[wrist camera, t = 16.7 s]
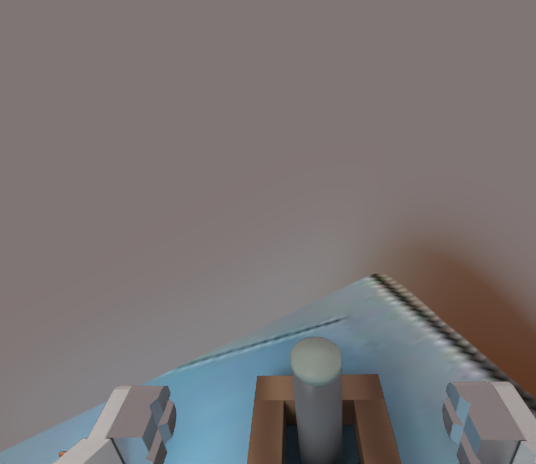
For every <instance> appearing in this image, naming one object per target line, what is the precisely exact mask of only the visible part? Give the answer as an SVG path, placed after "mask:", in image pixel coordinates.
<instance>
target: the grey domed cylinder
mask: <svg viewBox="0 0 536 464" xmlns="http://www.w3.org/2000/svg"><path fill="white" fill-rule="evenodd" d="M290 359H291V369H292V379H293V389H294V399H295V409H296V419H297V429H298V439H299V449H300V459H301V464H342V354H341V351H340V349H339V347H338V346H337V345H336V344H335V343H333V342H332V341H330V340H328V339H326V338H322V337H309V338H305V339H303V340H301V341H299V342H298V343H296V344H295V345H294V347H293V348H292V350H291V354H290Z"/></svg>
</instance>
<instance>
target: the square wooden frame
mask: <svg viewBox="0 0 536 464" xmlns="http://www.w3.org/2000/svg"><path fill="white" fill-rule="evenodd" d="M287 425H297V419H296V409H295V399H294V389H293V379H292V376H257V383H256V391H255V400H254V408H253V417H252V426H251V434H250V443H249V451H248V460H247V464H286V428H287ZM342 425H353V428H354V434H355V440H356V446H357V453H358V459H359V464H401V460H400V457H399V453H398V449H397V445H396V441H395V438H394V434H393V430H392V426H391V422H390V419H389V415H388V411H387V407H386V403H385V399H384V396H383V392H382V388H381V384H380V380H379V377H378V374H367V375H342Z"/></svg>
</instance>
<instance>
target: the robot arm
mask: <svg viewBox="0 0 536 464" xmlns="http://www.w3.org/2000/svg"><path fill="white" fill-rule="evenodd" d="M446 392H447V394H448V397H449V398H448V399H447V400H445V401H444V404H443V419H444V423H445V427H446V430H447V433H448V435H449V438H450V439H451V440H452V441H453V442H455V443H456V444H457V445H458V446H459V448H458V452H457V457H458V460H459V462H460V464H536V419H535V417H534V416H533V414H532V413H531V411H530V410H529V408H528V407H527V405H526V404H525V402H524V401H523V399H522V398H521V396H520V395H519V393H518V392H517V391H516V389H515V388H514V386H513V385H512V384H511V383H509V382H486V381H482V382H450V383H449V384H448V385H447V389H446ZM170 394H171V393H170V391H169V388H168V386H134V385H132V386H130V385H129V386H117V387H116V388H115V389H114V390H113V392H112V394H111V396H110V398H109V399H108V401H107V403H106V405H105V407H104V409H103V410H102V412H101V414H100V416H99V418H98V420H97V422H96V423H95V425H94V427H93V429H92V431H91V433H90V435H89V436H88V438H85V439H81V440H80V441H79V442H78V443H77V444H76V445H74V446H73V447H72V448H71V449H70V450H68V451H67V452H66V453H65V454H64V455H62V456H61V457H60V458H59V459H58V460H56V461H55V462H54V463H53V464H163V463H164V460H165V457H166V454H167V451H166V448H165V445H164V444H165V443H166V442H167V441H168V440H169V439H170V438H171V437H172V435H173V432H174V428H175V423H176V408H175V405H174V403H173V402H172V401H170V400H169V396H170Z"/></svg>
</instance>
